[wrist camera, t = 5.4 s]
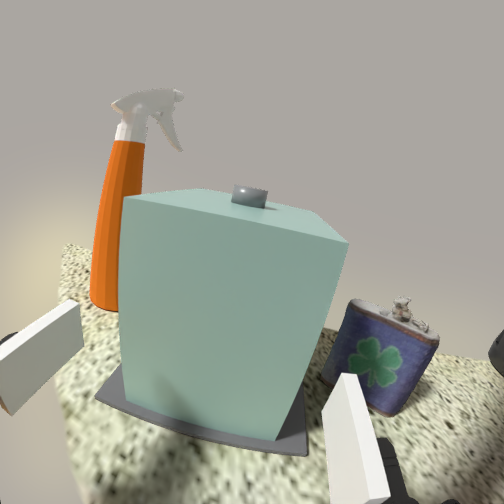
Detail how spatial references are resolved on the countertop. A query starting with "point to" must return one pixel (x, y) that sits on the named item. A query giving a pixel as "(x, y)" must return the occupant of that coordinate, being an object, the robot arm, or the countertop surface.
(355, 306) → the flask
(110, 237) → the spray bottle
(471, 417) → the countertop surface
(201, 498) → the countertop surface
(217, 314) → the box
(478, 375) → the countertop surface
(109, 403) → the rubber mat
